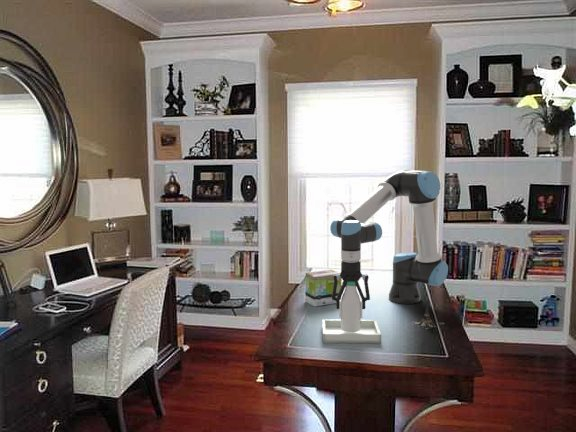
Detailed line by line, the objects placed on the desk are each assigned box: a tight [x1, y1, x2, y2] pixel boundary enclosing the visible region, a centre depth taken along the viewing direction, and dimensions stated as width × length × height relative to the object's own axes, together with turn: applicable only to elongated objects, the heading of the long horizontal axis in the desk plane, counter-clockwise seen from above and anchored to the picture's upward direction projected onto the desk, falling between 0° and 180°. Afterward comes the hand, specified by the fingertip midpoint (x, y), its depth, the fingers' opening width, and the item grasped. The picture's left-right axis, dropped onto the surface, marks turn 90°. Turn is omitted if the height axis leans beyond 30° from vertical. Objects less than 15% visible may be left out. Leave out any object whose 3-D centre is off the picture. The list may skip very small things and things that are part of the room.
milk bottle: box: [340, 281, 362, 332], centre depth 188 cm, size 8×8×20 cm
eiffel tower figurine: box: [408, 295, 445, 330], centre depth 198 cm, size 15×10×13 cm
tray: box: [321, 318, 382, 344], centre depth 189 cm, size 22×16×4 cm
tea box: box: [304, 269, 343, 308], centre depth 231 cm, size 15×10×15 cm, turn 117°
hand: (350, 316), depth 189 cm, fingers closed on milk bottle, 7 cm apart
